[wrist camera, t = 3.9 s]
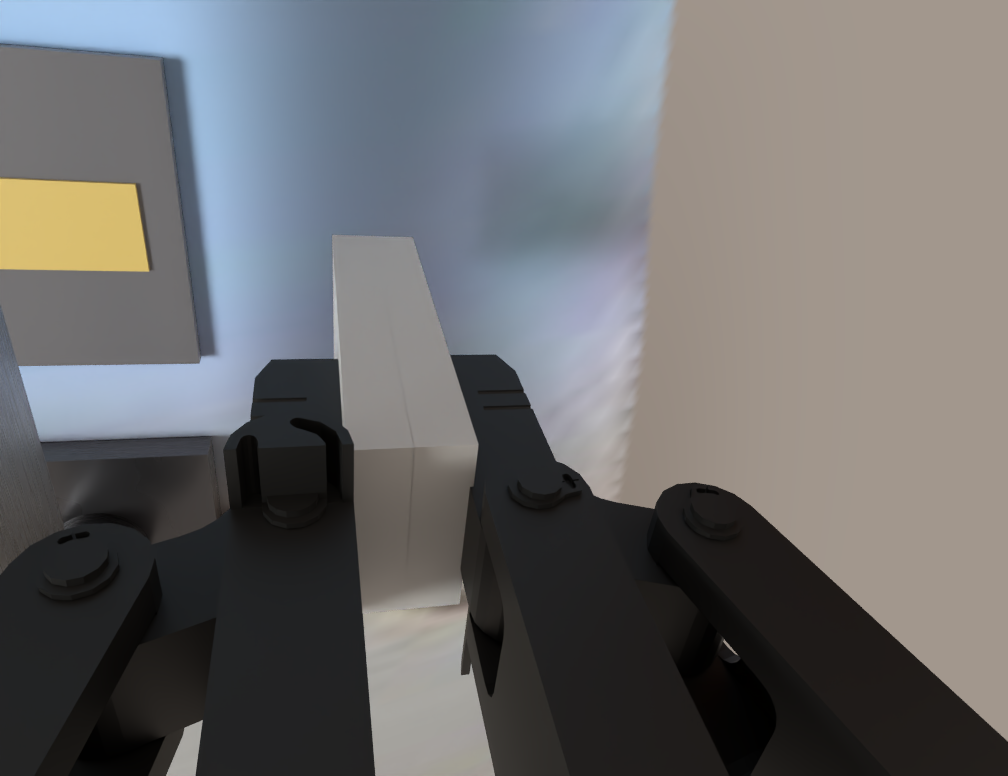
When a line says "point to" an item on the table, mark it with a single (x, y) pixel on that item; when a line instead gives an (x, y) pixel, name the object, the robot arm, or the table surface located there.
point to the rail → (21, 465)
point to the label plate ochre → (91, 212)
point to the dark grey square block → (136, 484)
